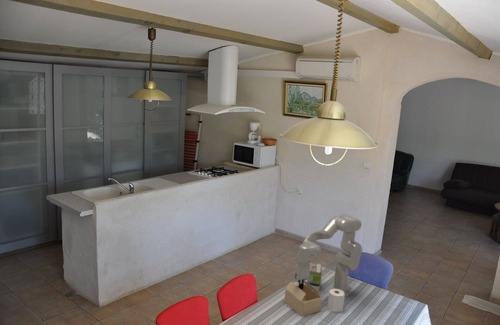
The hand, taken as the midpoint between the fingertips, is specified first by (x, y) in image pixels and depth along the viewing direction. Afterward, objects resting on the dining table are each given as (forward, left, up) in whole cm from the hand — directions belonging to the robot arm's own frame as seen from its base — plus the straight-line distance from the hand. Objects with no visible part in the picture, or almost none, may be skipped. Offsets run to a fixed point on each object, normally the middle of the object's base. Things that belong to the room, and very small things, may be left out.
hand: (300, 288), depth 271 cm
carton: (-3, 0, -14) cm, 14 cm away
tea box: (-29, -21, -14) cm, 38 cm away
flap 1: (+4, 0, -1) cm, 4 cm away
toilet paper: (-23, +11, -14) cm, 29 cm away
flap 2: (-9, 0, -1) cm, 9 cm away
